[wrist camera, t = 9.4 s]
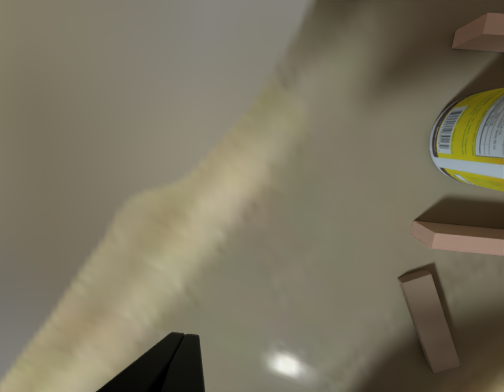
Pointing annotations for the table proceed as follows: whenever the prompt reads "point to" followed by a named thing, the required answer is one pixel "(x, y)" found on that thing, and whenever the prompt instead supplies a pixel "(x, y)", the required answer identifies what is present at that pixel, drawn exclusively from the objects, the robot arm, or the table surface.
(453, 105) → the supplement bottle
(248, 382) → the table surface
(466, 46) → the terracotta holder
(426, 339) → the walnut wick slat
